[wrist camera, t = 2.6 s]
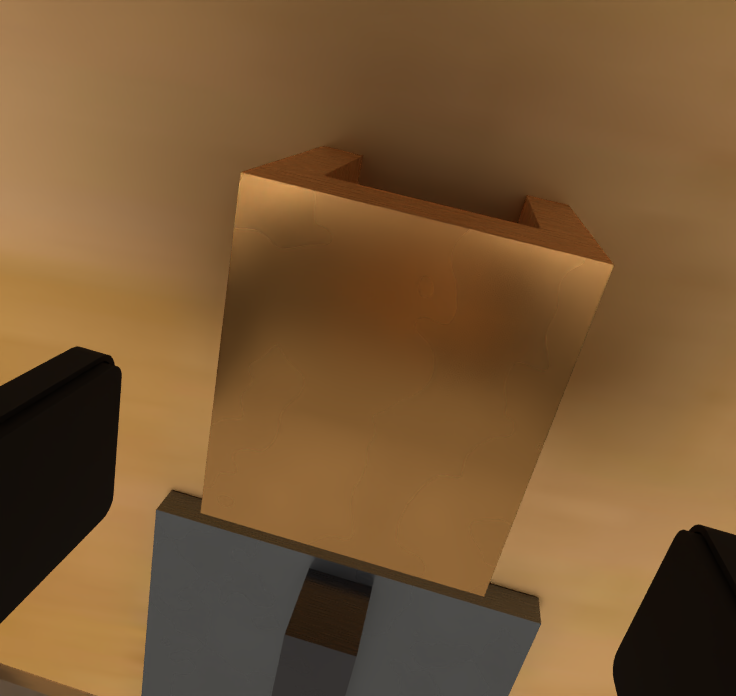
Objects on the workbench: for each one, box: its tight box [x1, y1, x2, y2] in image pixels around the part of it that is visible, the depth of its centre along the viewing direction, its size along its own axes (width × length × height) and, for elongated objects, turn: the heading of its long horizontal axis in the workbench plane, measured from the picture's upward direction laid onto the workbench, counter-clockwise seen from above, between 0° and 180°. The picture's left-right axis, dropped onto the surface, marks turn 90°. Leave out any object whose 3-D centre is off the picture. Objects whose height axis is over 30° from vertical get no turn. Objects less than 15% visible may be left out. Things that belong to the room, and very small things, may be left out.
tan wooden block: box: [201, 146, 614, 597], centre depth 13 cm, size 7×6×6 cm
